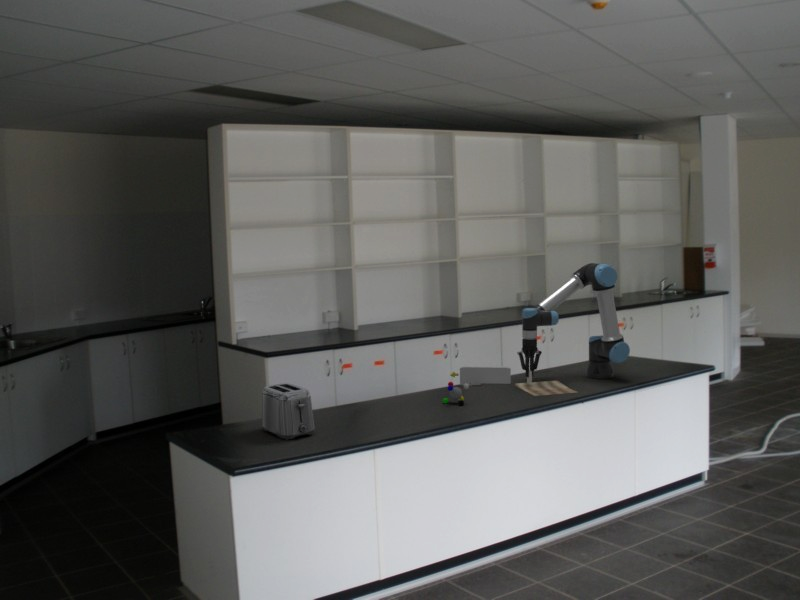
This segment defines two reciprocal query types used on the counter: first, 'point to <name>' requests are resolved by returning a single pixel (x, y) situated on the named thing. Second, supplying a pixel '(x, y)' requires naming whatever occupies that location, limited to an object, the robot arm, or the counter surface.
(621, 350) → the robot arm
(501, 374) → the decorative sign
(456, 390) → the molecular model
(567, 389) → the floor strip
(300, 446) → the counter surface
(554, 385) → the plank
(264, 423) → the toaster
